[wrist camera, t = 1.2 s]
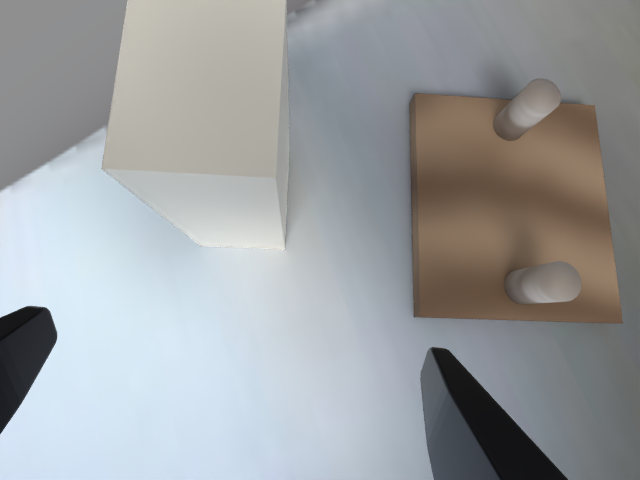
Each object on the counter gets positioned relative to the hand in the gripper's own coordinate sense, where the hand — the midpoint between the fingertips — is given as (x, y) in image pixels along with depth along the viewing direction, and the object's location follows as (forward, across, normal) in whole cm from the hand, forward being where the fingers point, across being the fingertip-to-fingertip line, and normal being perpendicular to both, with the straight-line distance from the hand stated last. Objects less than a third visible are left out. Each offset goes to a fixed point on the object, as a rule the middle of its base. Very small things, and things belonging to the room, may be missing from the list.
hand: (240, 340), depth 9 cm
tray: (+16, -13, +2) cm, 21 cm away
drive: (+15, +3, +3) cm, 16 cm away
